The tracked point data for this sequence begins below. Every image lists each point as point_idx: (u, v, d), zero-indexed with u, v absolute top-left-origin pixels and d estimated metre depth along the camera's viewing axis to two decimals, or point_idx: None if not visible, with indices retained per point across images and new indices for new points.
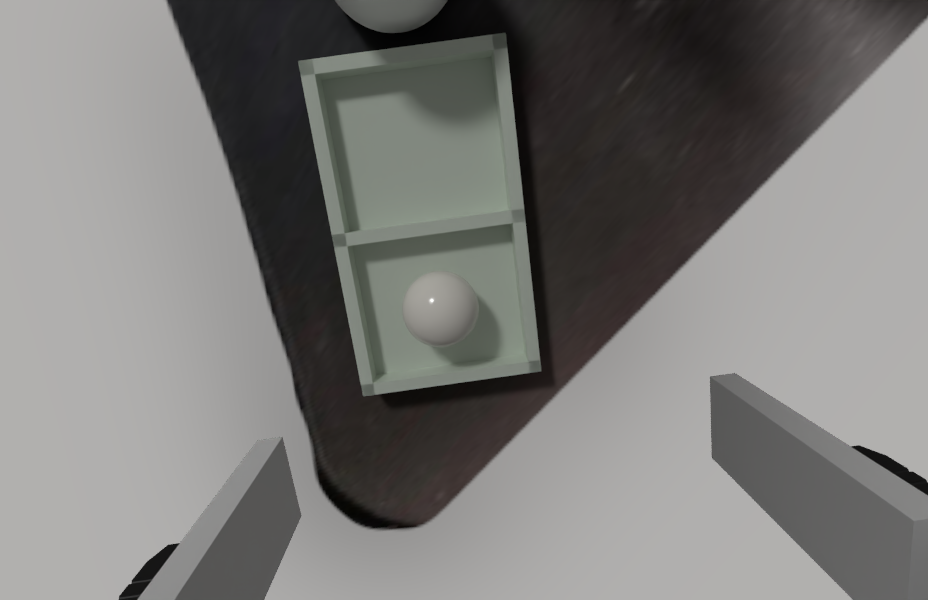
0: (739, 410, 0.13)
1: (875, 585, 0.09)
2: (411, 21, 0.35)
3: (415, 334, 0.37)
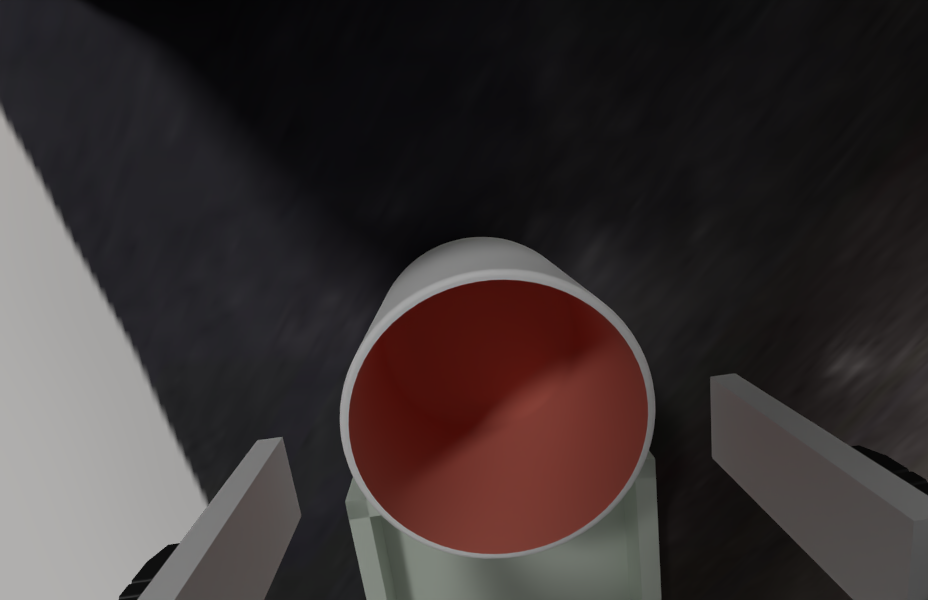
0: (739, 410, 0.13)
1: (875, 585, 0.09)
2: None
3: None
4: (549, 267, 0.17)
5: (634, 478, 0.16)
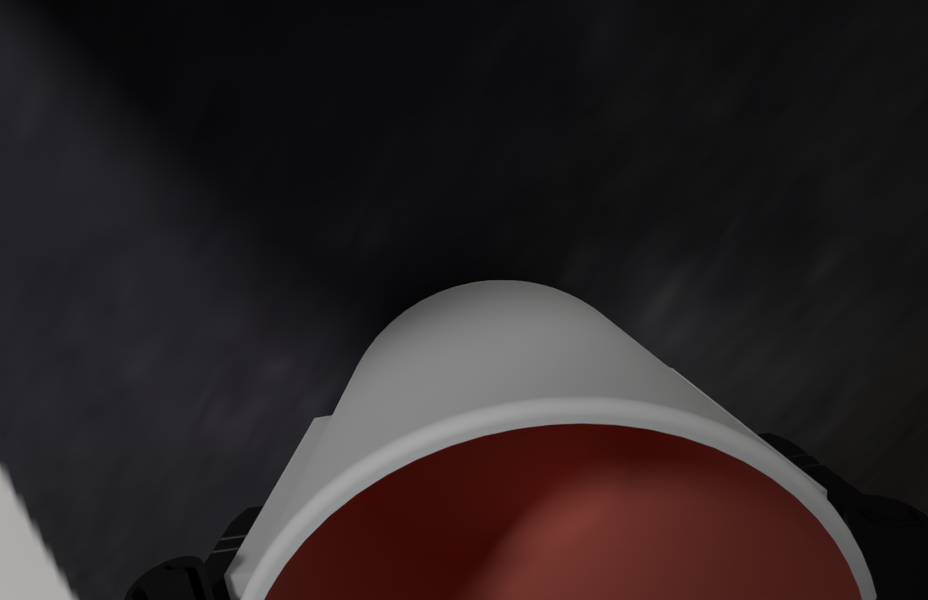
0: None
1: None
2: None
3: None
4: (646, 363, 0.09)
5: None
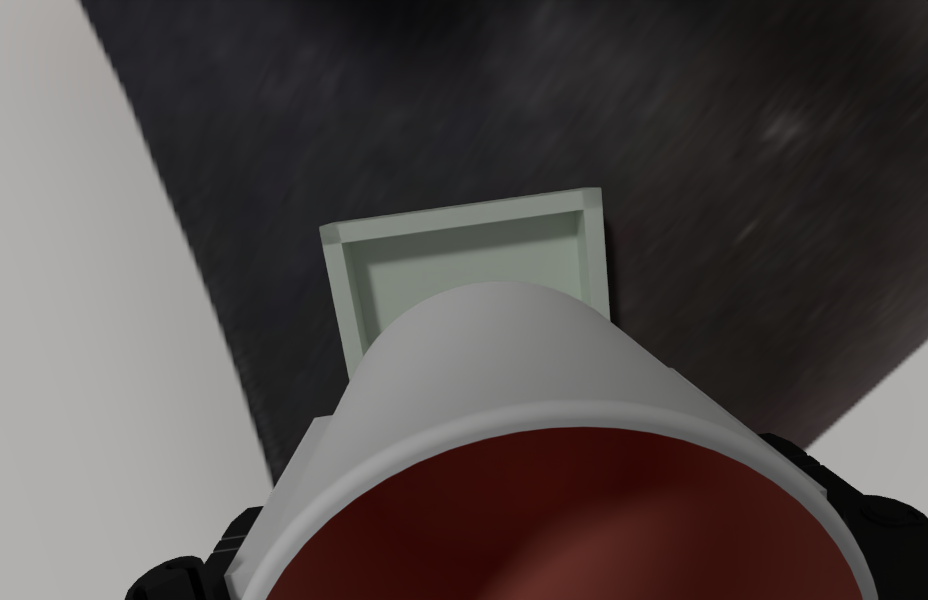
0: None
1: None
2: None
3: None
4: (647, 365, 0.09)
5: None
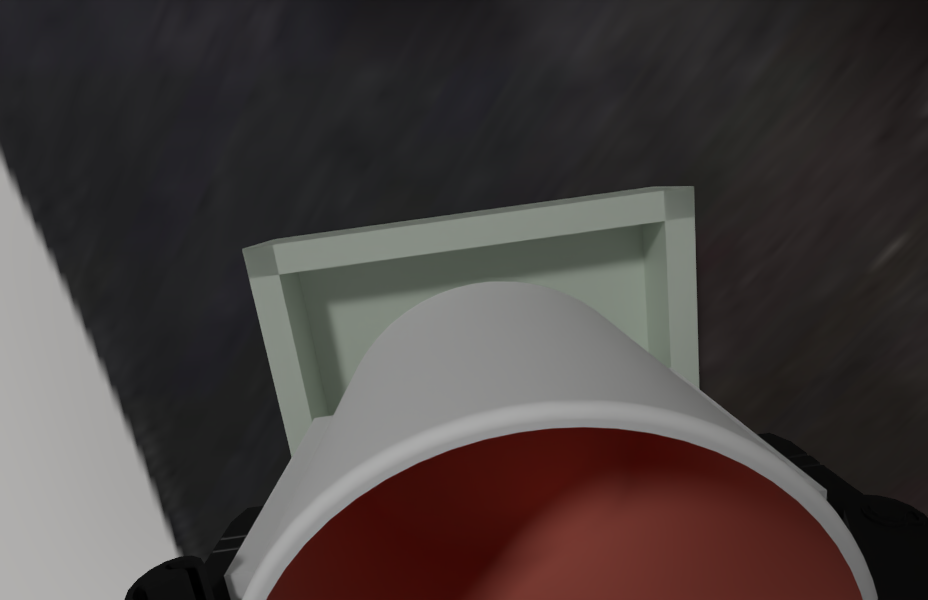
0: None
1: None
2: None
3: None
4: (647, 366, 0.09)
5: None
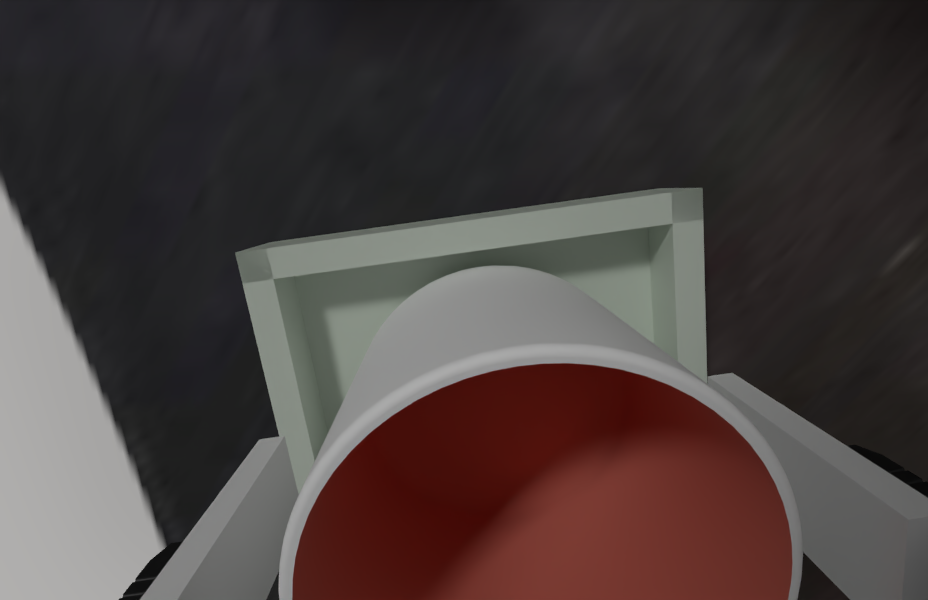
0: None
1: (870, 583, 0.09)
2: None
3: None
4: (623, 328, 0.10)
5: None
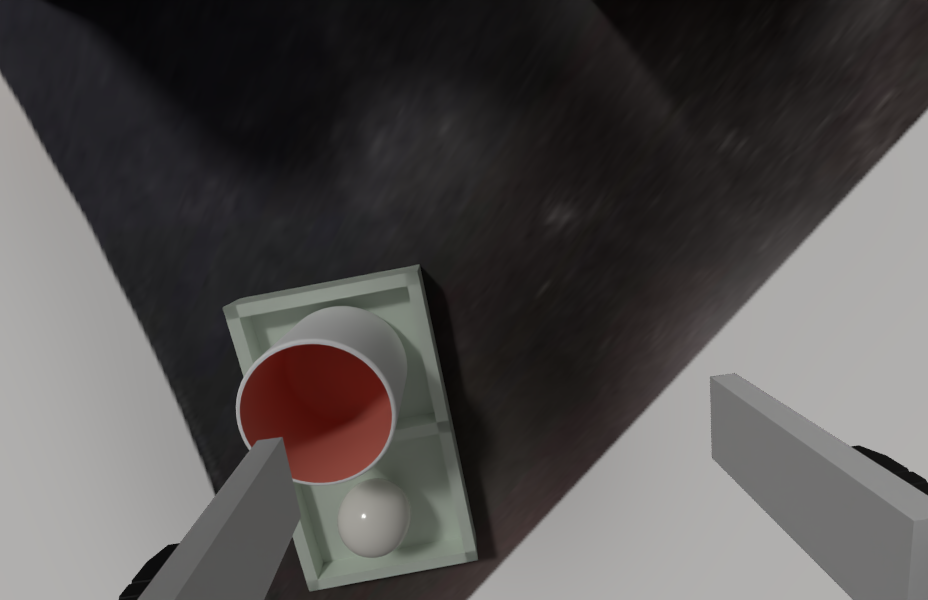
0: (739, 409, 0.13)
1: (875, 585, 0.09)
2: None
3: (349, 549, 0.39)
4: (347, 332, 0.32)
5: (389, 441, 0.31)
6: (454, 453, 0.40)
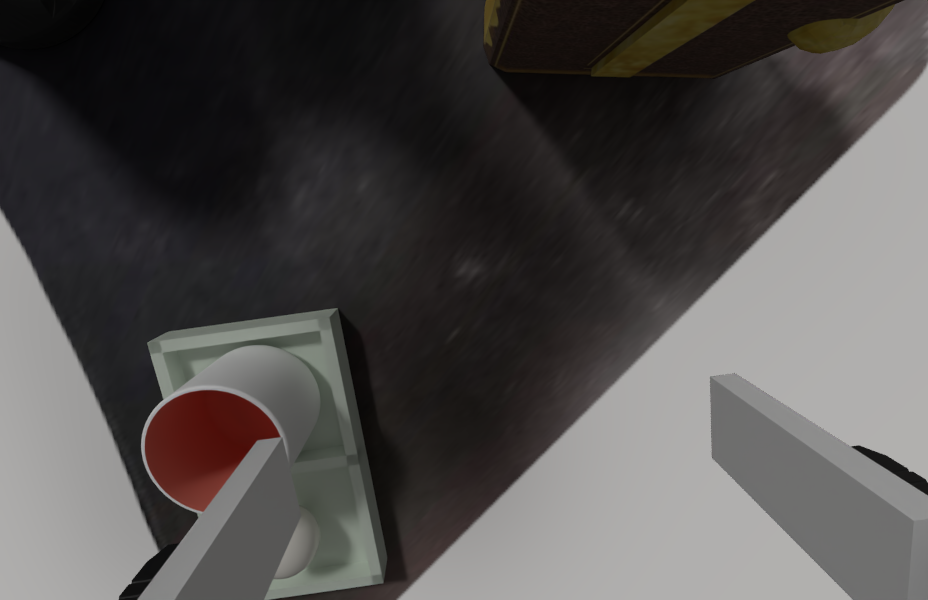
0: (739, 410, 0.13)
1: (875, 585, 0.09)
2: None
3: None
4: (250, 377, 0.35)
5: None
6: (362, 484, 0.43)
